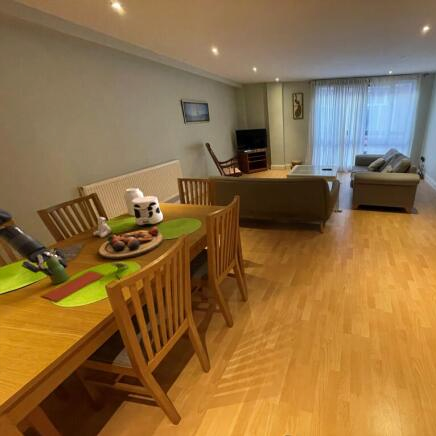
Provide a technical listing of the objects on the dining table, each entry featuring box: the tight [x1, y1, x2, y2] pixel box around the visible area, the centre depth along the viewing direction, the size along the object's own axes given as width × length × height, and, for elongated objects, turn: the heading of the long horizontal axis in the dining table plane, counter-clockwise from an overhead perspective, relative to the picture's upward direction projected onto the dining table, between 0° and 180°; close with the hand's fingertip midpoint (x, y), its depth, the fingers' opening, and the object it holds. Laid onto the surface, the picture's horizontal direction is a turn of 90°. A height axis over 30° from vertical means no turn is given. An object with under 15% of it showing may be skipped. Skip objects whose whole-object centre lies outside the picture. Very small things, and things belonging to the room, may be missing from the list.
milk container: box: [132, 195, 164, 227], centre depth 170 cm, size 17×17×18 cm
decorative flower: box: [110, 261, 130, 280], centre depth 115 cm, size 8×6×15 cm
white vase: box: [123, 187, 144, 217], centre depth 187 cm, size 12×12×20 cm
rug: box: [55, 243, 84, 262], centre depth 134 cm, size 10×20×1 cm, turn 26°
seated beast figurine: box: [92, 216, 112, 239], centre depth 154 cm, size 10×9×12 cm
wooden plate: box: [98, 226, 163, 260], centre depth 141 cm, size 32×32×8 cm
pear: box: [45, 256, 69, 284], centre depth 108 cm, size 6×6×13 cm
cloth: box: [42, 270, 105, 303], centre depth 108 cm, size 19×10×1 cm, turn 160°
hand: (59, 270), depth 109 cm, fingers closed on pear, 5 cm apart
